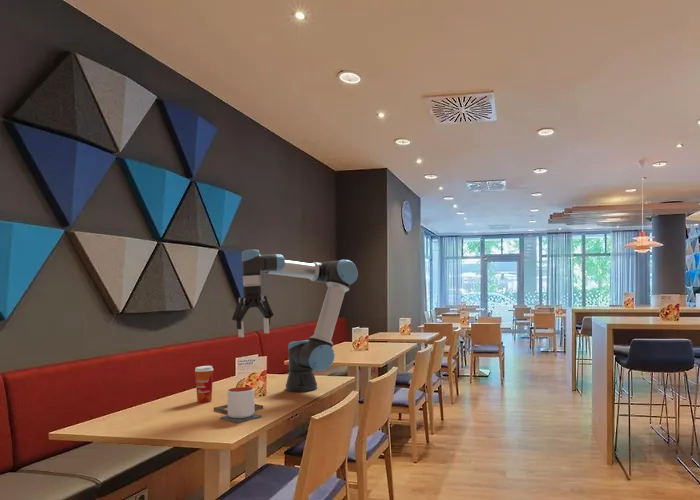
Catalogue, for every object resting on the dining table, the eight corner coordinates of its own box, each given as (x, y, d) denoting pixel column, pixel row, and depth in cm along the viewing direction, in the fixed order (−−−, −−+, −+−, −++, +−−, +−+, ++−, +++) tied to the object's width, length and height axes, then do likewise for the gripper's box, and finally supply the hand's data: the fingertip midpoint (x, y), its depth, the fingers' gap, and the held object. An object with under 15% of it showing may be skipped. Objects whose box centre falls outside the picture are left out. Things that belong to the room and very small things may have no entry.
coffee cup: (190, 403, 229) (190, 368, 230) (202, 399, 237) (201, 365, 238) (207, 403, 226) (207, 368, 227) (218, 399, 234) (217, 365, 235)
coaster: (244, 412, 207) (244, 411, 207) (261, 417, 199) (261, 415, 199) (220, 418, 199) (220, 416, 199) (237, 423, 191) (237, 421, 191)
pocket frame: (242, 404, 224) (242, 401, 224) (262, 408, 214) (262, 405, 214) (213, 410, 213) (213, 407, 213) (233, 415, 204) (233, 412, 204)
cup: (248, 419, 193) (248, 392, 194) (223, 419, 195) (222, 391, 196) (258, 413, 203) (258, 386, 204) (234, 412, 205) (234, 386, 206)
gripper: (269, 284, 239) (271, 331, 237) (222, 287, 220) (224, 338, 219) (279, 283, 234) (282, 332, 232) (233, 286, 215) (235, 338, 214)
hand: (254, 335), depth 226 cm, fingers open, 13 cm apart
